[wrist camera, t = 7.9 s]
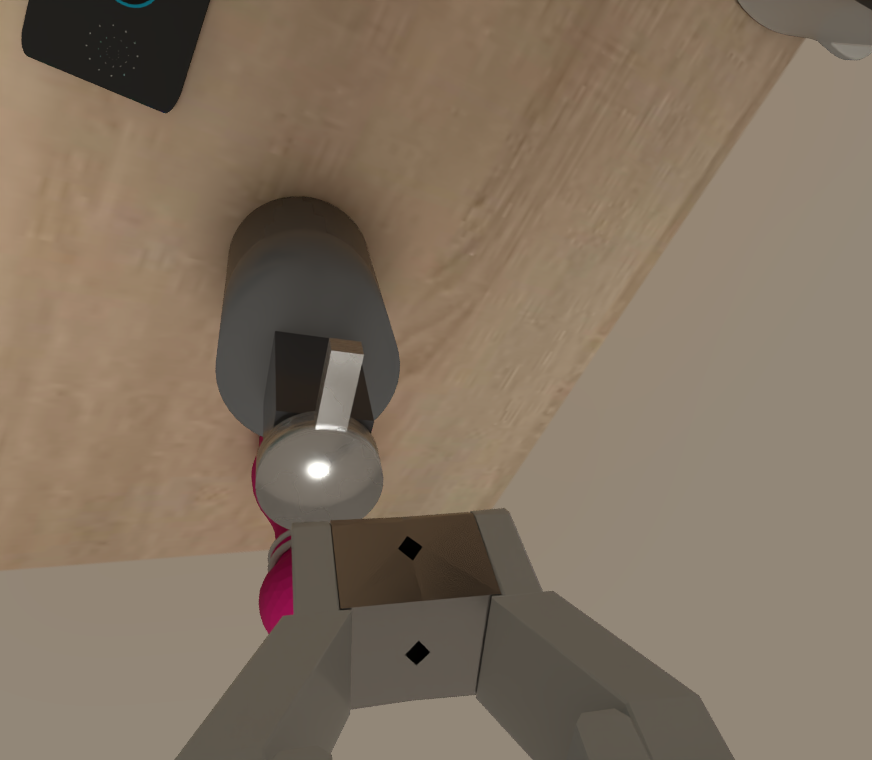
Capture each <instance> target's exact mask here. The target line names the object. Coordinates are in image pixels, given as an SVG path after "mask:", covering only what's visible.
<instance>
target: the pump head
mask: <svg viewBox="0 0 872 760" xmlns="http://www.w3.org/2000/svg"><path fill="white" fill-rule="evenodd" d="M363 357H364V353H363V348H362V343H361V342H358V341H351V340H343V339H336V338H329V343H328V348H327V353H326V358H325V363H324V368H323V372H322V377H321V382H320V387H319V392H318V397H317V402H316V407H315V411H311V412H305V413H301V414H298V415H295V416H292V417H290V418H288V419H286V420H284V421H282V422H280V423H279V424H278V425H276V426H275V427H274V428H273V429H272V430H271V431H269V433H268V434H267V435H266V436H265V437H264V439H263V441H262V442H261V444H260V447H259V449H258V452H257V457H256V486H255V488H256V496H257V500H258V502H259V504H260V507H261V508H262V510H263V511H264V512H265V514H266V515H267V516H268V517H269V518H270V519H272V520H273V521H274V522H275V523H277V524H279V525H280V526H282V527H284V528H286V529H289V530H291V527H292V523H297V522H318V521H328V522H329V523H330V520H347V519H362V518H363V517H365V516H366V515H367V514H368V513H369V512H370V511H371V510H372V509H373V507H374V506H375V504H376V503H377V501H378V499H379V497H380V495H381V492H382V487H383V473H382V468H381V463H380V458H379V453H378V448H377V445H376V442H375V440H374V438H373V436H372V435H371V433H370V432H369V431H368V430H367V429H366V428H365V427H364V426H363V425H362V424H361V423H360V422H358V421H357V420H355V419H353V418H351V417H350V414H351V409H352V405H353V401H354V396H355V392H356V387H357V383H358V379H359V374H360V370H361V365H362V361H363Z"/></svg>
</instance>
